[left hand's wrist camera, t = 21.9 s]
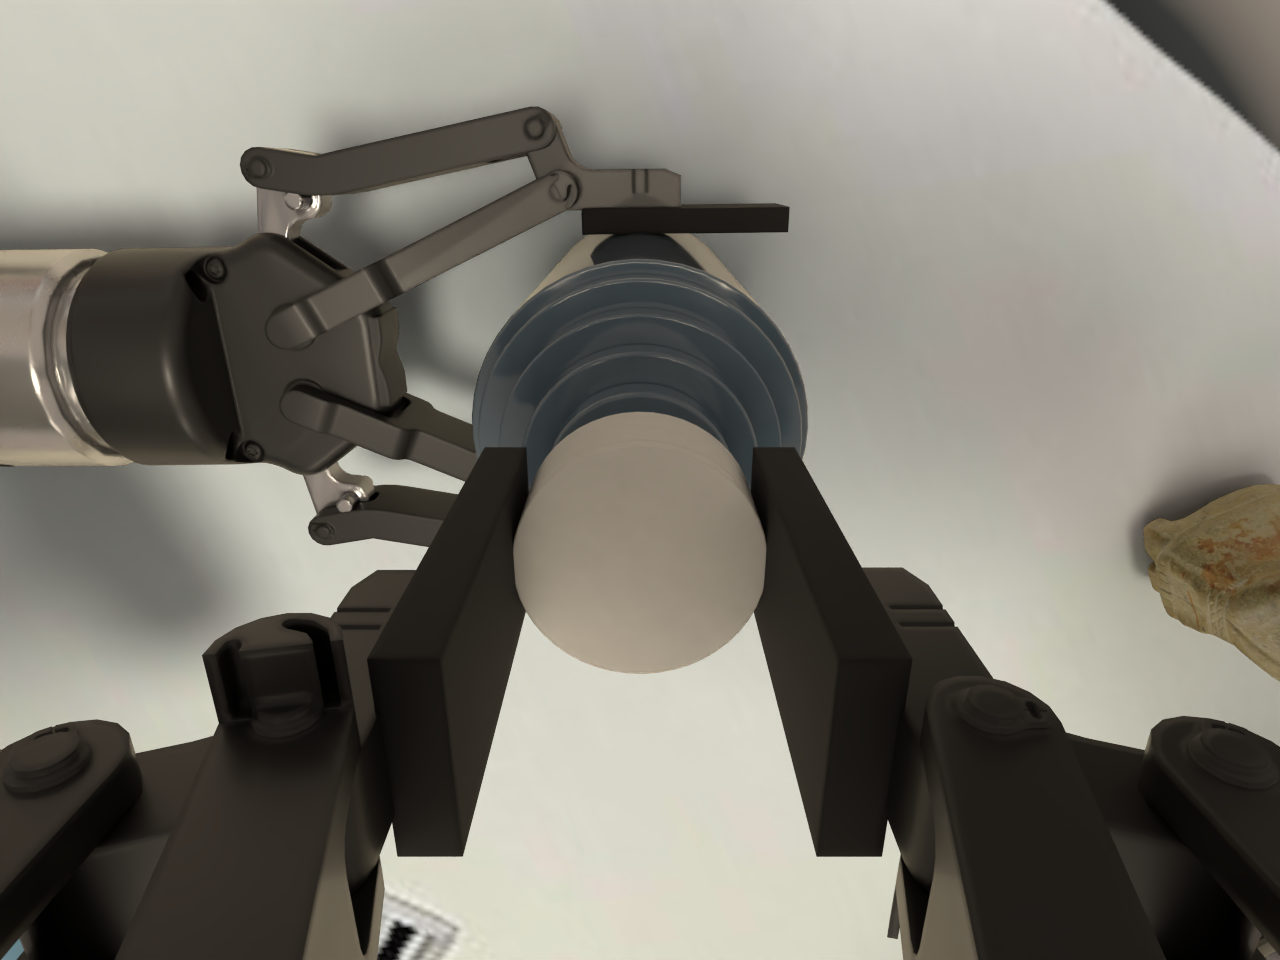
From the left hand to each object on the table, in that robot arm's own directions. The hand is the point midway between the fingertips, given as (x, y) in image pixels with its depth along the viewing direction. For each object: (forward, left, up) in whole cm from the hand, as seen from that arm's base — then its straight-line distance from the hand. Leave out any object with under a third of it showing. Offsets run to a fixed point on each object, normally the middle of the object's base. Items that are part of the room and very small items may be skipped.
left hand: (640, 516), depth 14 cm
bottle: (0, 0, -20) cm, 20 cm away
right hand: (-4, -2, -14) cm, 15 cm away
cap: (0, 0, +2) cm, 2 cm away
